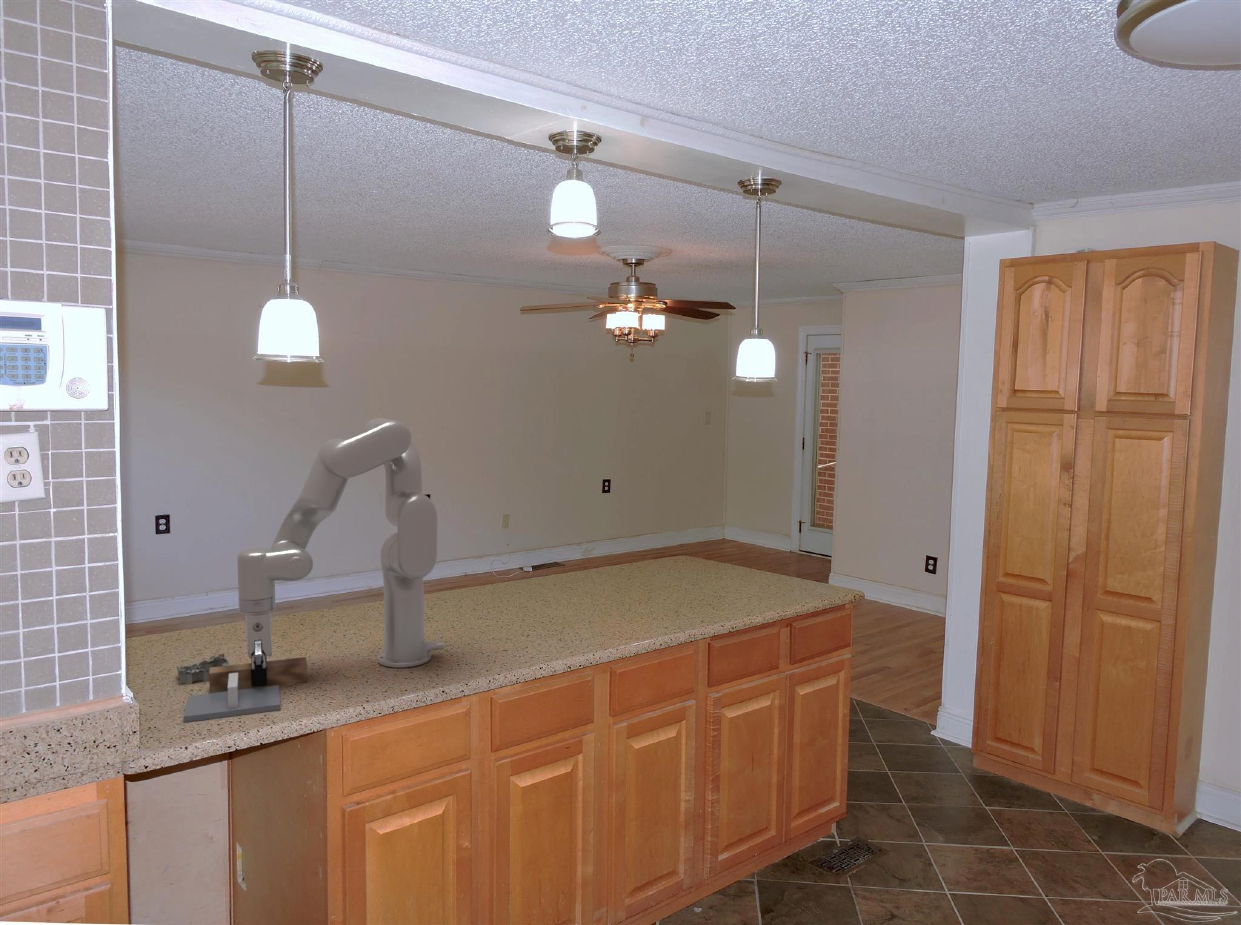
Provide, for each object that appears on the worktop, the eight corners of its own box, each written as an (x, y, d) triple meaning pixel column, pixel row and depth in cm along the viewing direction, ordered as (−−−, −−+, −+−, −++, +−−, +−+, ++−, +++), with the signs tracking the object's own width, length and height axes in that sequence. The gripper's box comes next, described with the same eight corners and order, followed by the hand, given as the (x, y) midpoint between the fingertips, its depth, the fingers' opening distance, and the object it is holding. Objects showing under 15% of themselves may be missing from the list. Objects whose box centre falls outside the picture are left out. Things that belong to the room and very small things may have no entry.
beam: (306, 677, 196) (305, 656, 196) (307, 683, 193) (306, 662, 192) (210, 689, 189) (210, 667, 188) (209, 695, 185) (209, 673, 184)
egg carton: (227, 669, 202) (226, 652, 201) (231, 678, 195) (230, 661, 195) (176, 676, 196) (176, 659, 196) (179, 686, 190) (178, 668, 189)
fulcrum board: (279, 690, 188) (278, 665, 187) (280, 709, 177) (279, 683, 176) (188, 701, 181) (187, 675, 180) (183, 722, 170) (182, 695, 169)
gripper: (276, 612, 182) (278, 689, 184) (274, 593, 198) (276, 664, 200) (237, 615, 180) (240, 694, 181) (239, 596, 195) (241, 668, 197)
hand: (259, 678), depth 191 cm, fingers open, 9 cm apart
